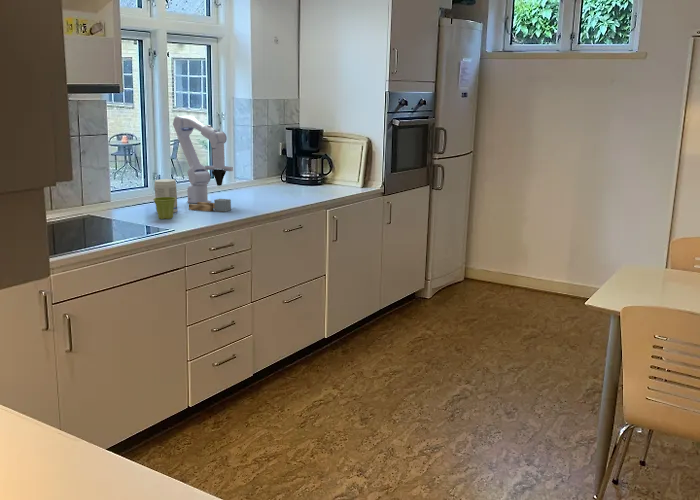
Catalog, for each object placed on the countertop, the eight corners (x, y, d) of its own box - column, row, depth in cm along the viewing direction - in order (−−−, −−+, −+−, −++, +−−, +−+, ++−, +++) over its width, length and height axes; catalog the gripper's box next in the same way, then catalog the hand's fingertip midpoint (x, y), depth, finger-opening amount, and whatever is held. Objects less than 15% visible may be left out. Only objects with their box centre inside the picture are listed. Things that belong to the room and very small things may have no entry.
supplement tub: (175, 209, 324) (173, 178, 321) (179, 212, 316) (178, 180, 312) (154, 211, 320) (152, 179, 316) (158, 214, 311) (156, 181, 308)
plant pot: (165, 220, 296) (164, 200, 294) (149, 218, 301) (148, 198, 299) (181, 217, 304) (180, 198, 302) (166, 215, 309) (165, 196, 307)
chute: (188, 209, 325) (188, 202, 324) (198, 206, 332) (198, 199, 331) (212, 211, 320) (212, 204, 319) (221, 208, 327) (221, 201, 327)
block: (214, 210, 322) (214, 199, 321) (219, 209, 326) (219, 198, 325) (225, 211, 319) (225, 200, 318) (230, 210, 324) (230, 199, 322)
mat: (212, 211, 321) (212, 210, 321) (219, 209, 327) (219, 208, 327) (223, 212, 319) (223, 211, 319) (230, 210, 325) (230, 209, 325)
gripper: (201, 157, 331) (202, 185, 334) (227, 158, 325) (227, 187, 328) (209, 156, 337) (210, 183, 340) (234, 157, 332) (235, 185, 335)
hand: (219, 185), depth 335 cm, fingers closed
